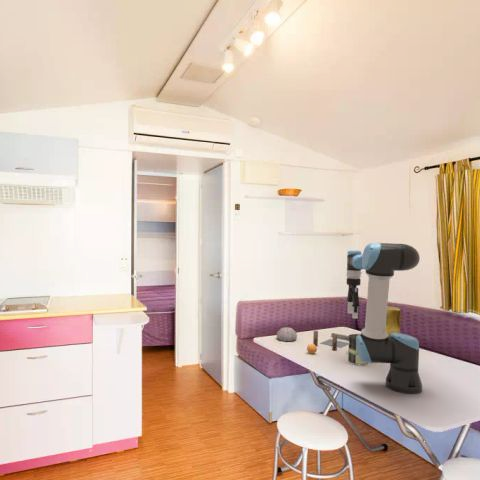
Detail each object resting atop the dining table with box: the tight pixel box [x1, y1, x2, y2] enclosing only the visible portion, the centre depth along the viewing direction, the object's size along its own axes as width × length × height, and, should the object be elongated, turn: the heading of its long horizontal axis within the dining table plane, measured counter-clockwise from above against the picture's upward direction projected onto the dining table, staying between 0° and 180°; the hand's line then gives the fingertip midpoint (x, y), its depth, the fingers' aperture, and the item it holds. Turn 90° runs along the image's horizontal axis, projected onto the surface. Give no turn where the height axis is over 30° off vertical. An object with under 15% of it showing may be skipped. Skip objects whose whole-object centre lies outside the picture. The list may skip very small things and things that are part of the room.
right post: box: [331, 333, 338, 352], centre depth 229 cm, size 3×3×9 cm
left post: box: [312, 330, 319, 347], centre depth 237 cm, size 3×3×9 cm
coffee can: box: [347, 333, 369, 367], centre depth 206 cm, size 10×10×14 cm
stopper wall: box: [330, 332, 349, 342], centre depth 254 cm, size 2×18×2 cm, turn 51°
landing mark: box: [319, 338, 349, 349], centre depth 244 cm, size 14×14×1 cm
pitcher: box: [385, 305, 402, 337], centre depth 239 cm, size 17×19×25 cm
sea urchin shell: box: [276, 326, 298, 342], centre depth 250 cm, size 13×14×8 cm
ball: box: [306, 343, 318, 355], centre depth 220 cm, size 6×6×6 cm
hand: (352, 315), depth 216 cm, fingers open, 13 cm apart
